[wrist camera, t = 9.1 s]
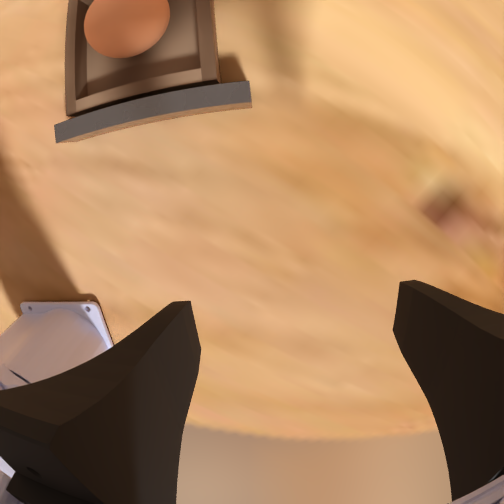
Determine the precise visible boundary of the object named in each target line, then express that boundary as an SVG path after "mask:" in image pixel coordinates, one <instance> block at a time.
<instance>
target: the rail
mask: <svg viewBox="0 0 504 504" xmlns="http://www.w3.org/2000/svg"><path fill="white" fill-rule="evenodd" d="M245 108H252V101H251V92H250V83H249V81H241V82H231V83H223V84H215V85H208V86H202V87H195V88H189V89H184V90H178V91H173V92H168V93H163V94H158V95H154V96H149V97H145V98H141V99H136V100H132V101H128V102H125V103H121V104H117V105H114V106H110V107H107V108H103V109H100V110H97V111H93V112H90V113H87V114H84V115H81V116H78V117H75V118H72V119H69V120H66V121H64V122H61V123H58V124H56V125H54V127H55V138H56V143H65V142H77V141H80V140H84V139H87V138H91V137H94V136H98V135H101V134H105V133H109V132H113V131H117V130H121V129H125V128H129V127H133V126H138V125H142V124H147V123H152V122H157V121H162V120H167V119H173V118H178V117H184V116H190V115H197V114H203V113H210V112H218V111H226V110H235V109H245Z"/></svg>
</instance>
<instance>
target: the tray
mask: <svg viewBox="0 0 504 504" xmlns="http://www.w3.org/2000/svg"><path fill="white" fill-rule="evenodd" d="M93 1H94V0H69V3H68V13H67V24H66V41H65V98H66V115H67V116H74V117H78V116H81V115H84V114H87V113H90V112H93V111H97V110H100V109H103V108H107V107H110V106H114V105H117V104H121V103H125V102H128V101H132V100H136V99H141V98H145V97H149V96H154V95H158V94H163V93H168V92H173V91H178V90H184V89H189V88H195V87H202V86H208V85H215V84H221V80H220V69H219V58H218V48H217V37H216V25H215V14H214V2H213V0H167V1H168V4H169V7H170V19H169V24H168V26H167V29H166V31H165V33H164V34H163V36H162V37H161V38H160V40H159V41H158V42H157V43H156V44H155V45H153V46H152V47H151V48H150V49H148V50H146V51H145V52H143V53H141V54H139V55H136V56H133V57H128V58H112V57H107V56H104V55H102V54H100V53H98V52H97V51H96V50H94V49H93V48H92V47H91V46H90V44H89V43H88V41H87V39H86V36H85V33H84V20H85V16H86V13H87V10H88V9H89V7H90V5H91V4H92V2H93Z"/></svg>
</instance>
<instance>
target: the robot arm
mask: <svg viewBox="0 0 504 504" xmlns="http://www.w3.org/2000/svg"><path fill="white" fill-rule="evenodd" d="M87 306H88V307H89V308H90V309H88V307H87ZM20 308H21V310H22V313H23V314H22V315H21V316H20V317H19V318H18V319H17V320H16V321H14V322H13V323H12V324H11V325H10V326H9V327H8V328H7V329H6V330H5V331H4V332H3V333H2V334H1V335H0V504H176V493H177V478H178V466H179V455H180V448H181V441H182V434H183V429H184V424H185V421H186V417H187V413H188V410H189V406H190V402H191V399H192V395H193V391H194V387H195V384H196V380H197V376H198V371H199V364H200V355H201V346H200V342H199V338H198V333H197V329H196V324H195V320H194V315H193V311H192V306H191V301H177V302H172V303H170V304H169V305H167V306H166V307H165V308H163V309H162V310H161V311H160V312H158V313H157V314H156V315H154V316H153V317H152V318H151V319H149V320H148V321H147V322H146V323H144V324H143V325H142V326H140V327H139V328H138V329H137V330H135V331H134V332H132V333H131V334H130V335H128V336H127V337H125V338H124V339H123V340H121V341H120V342H118V343H117V344H116V345H113V343H112V340H111V337H110V335H109V332H108V329H107V327H106V324H105V321H104V318H103V315H102V312H101V309H100V307H99V305H98V304H97V303H96V302H93V301H90V302H22V303H21V304H20ZM393 332H394V335H395V338H396V340H397V343H398V345H399V348H400V350H401V353H402V355H403V356H404V358H405V360H406V362H407V364H408V365H409V367H410V369H411V371H412V373H413V374H414V376H415V378H416V380H417V381H418V383H419V385H420V387H421V389H422V391H423V392H424V394H425V396H426V398H427V400H428V402H429V405H430V407H431V410H432V412H433V415H434V418H435V421H436V424H437V427H438V430H439V433H440V436H441V440H442V444H443V447H444V452H445V456H446V461H447V466H448V471H449V478H450V485H451V493H452V494H451V495H452V502H450V503H448V504H504V314H501V313H498V312H495V311H492V310H489V309H486V308H484V307H481V306H478V305H476V304H473V303H471V302H468V301H466V300H464V299H461V298H459V297H457V296H454V295H452V294H450V293H448V292H445V291H443V290H441V289H438V288H436V287H434V286H431V285H429V284H426V283H423V282H420V281H417V280H410V281H403V282H400V285H399V293H398V300H397V307H396V314H395V320H394V326H393Z"/></svg>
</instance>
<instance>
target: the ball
mask: <svg viewBox="0 0 504 504" xmlns="http://www.w3.org/2000/svg"><path fill="white" fill-rule="evenodd" d="M169 19H170V7H169V4H168V1H167V0H94V1H93V2H92V4H91V5H90V7H89V9H88V10H87V13H86V16H85V20H84V33H85V36H86V39H87V41H88V43H89V44H90V46H91V47H92V48H93V49H94V50H96V51H97V52H98V53H100V54H102V55H104V56H107V57H112V58H128V57H133V56H136V55H139V54H141V53H143V52H145V51H146V50H148V49H150V48H151V47H152V46H153V45H155V44H156V43H157V42H158V41H159V40H160V38H161V37H162V36H163V34H164V33H165V31H166V29H167V26H168V24H169Z"/></svg>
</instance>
